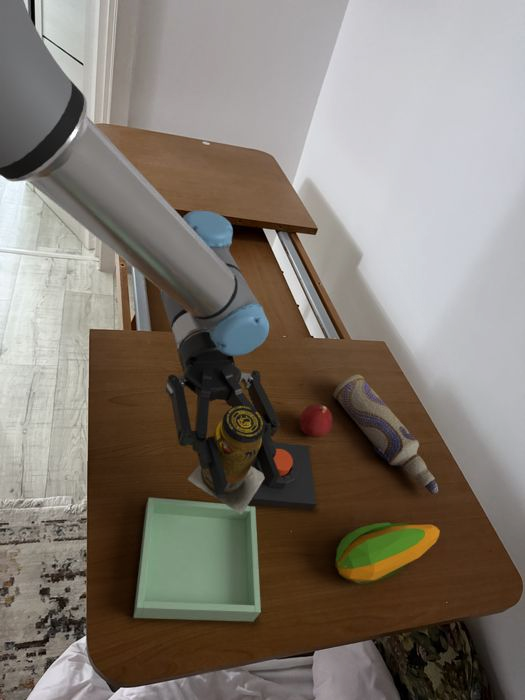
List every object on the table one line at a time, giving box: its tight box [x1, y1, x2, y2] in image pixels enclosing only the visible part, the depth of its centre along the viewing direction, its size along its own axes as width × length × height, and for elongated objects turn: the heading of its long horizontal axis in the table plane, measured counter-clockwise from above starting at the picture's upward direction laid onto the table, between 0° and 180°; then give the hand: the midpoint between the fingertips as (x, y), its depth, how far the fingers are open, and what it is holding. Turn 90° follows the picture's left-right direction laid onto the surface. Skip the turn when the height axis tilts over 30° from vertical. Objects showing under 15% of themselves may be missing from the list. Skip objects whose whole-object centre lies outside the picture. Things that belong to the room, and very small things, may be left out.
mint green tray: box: [133, 497, 262, 623], centre depth 69 cm, size 16×15×4 cm
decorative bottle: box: [332, 374, 440, 495], centre depth 93 cm, size 26×8×7 cm, turn 33°
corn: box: [335, 522, 441, 585], centre depth 77 cm, size 7×8×20 cm
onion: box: [299, 403, 334, 438], centre depth 90 cm, size 6×6×8 cm
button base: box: [247, 441, 318, 511], centre depth 82 cm, size 13×11×4 cm
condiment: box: [187, 406, 265, 515], centre depth 65 cm, size 7×8×12 cm
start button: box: [274, 449, 293, 476], centre depth 81 cm, size 4×4×2 cm
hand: (248, 484), depth 61 cm, fingers closed on condiment, 6 cm apart
